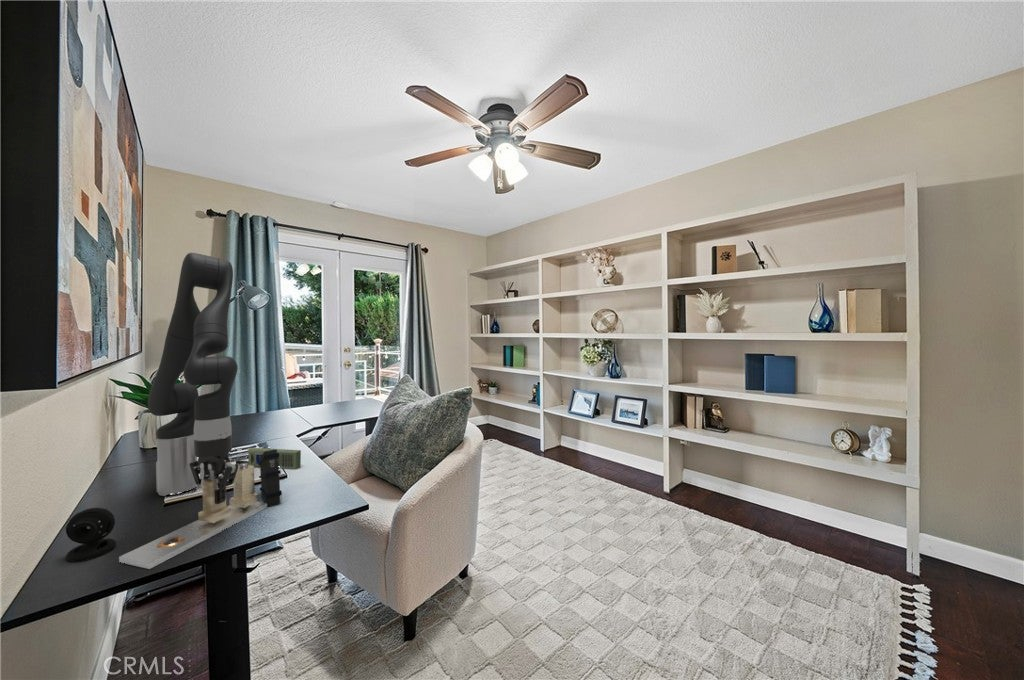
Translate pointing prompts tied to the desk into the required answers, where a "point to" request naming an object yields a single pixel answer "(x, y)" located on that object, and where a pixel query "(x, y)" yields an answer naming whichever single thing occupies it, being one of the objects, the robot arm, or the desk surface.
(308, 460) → the desk surface
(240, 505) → the bolt-hole plate
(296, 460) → the handheld radio
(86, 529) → the webcam
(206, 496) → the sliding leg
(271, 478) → the black boxy piece
